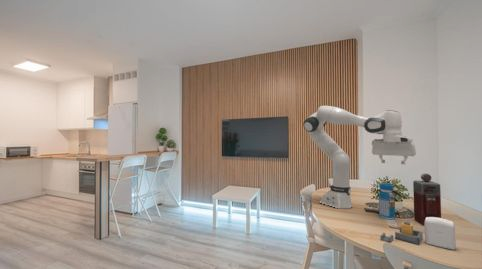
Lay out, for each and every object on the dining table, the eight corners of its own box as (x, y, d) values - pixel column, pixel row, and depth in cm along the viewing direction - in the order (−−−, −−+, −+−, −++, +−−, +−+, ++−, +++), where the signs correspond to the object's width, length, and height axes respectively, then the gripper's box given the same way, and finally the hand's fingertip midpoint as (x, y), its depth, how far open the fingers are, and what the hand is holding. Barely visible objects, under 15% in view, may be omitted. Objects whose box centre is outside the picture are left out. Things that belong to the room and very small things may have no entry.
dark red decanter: (425, 227, 119) (423, 175, 120) (413, 219, 130) (412, 172, 131) (444, 228, 117) (443, 175, 118) (431, 220, 128) (430, 172, 129)
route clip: (380, 240, 105) (380, 235, 105) (383, 236, 108) (383, 232, 108) (390, 242, 102) (390, 238, 102) (393, 239, 105) (393, 235, 105)
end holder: (395, 238, 106) (395, 232, 106) (400, 232, 113) (399, 226, 113) (419, 245, 99) (418, 238, 99) (422, 238, 106) (422, 231, 106)
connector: (401, 236, 106) (401, 222, 107) (403, 234, 109) (402, 220, 109) (411, 239, 104) (411, 225, 104) (413, 236, 106) (413, 222, 106)
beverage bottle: (379, 218, 133) (378, 185, 133) (378, 214, 140) (377, 182, 141) (396, 220, 129) (395, 186, 130) (394, 216, 137) (393, 183, 137)
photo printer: (424, 243, 101) (423, 216, 101) (425, 240, 104) (424, 214, 104) (456, 251, 94) (455, 222, 94) (455, 247, 97) (454, 219, 97)
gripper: (370, 139, 129) (370, 162, 129) (413, 138, 114) (414, 165, 114) (373, 139, 134) (373, 161, 133) (416, 138, 119) (416, 164, 118)
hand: (393, 163), depth 124 cm, fingers open, 8 cm apart
